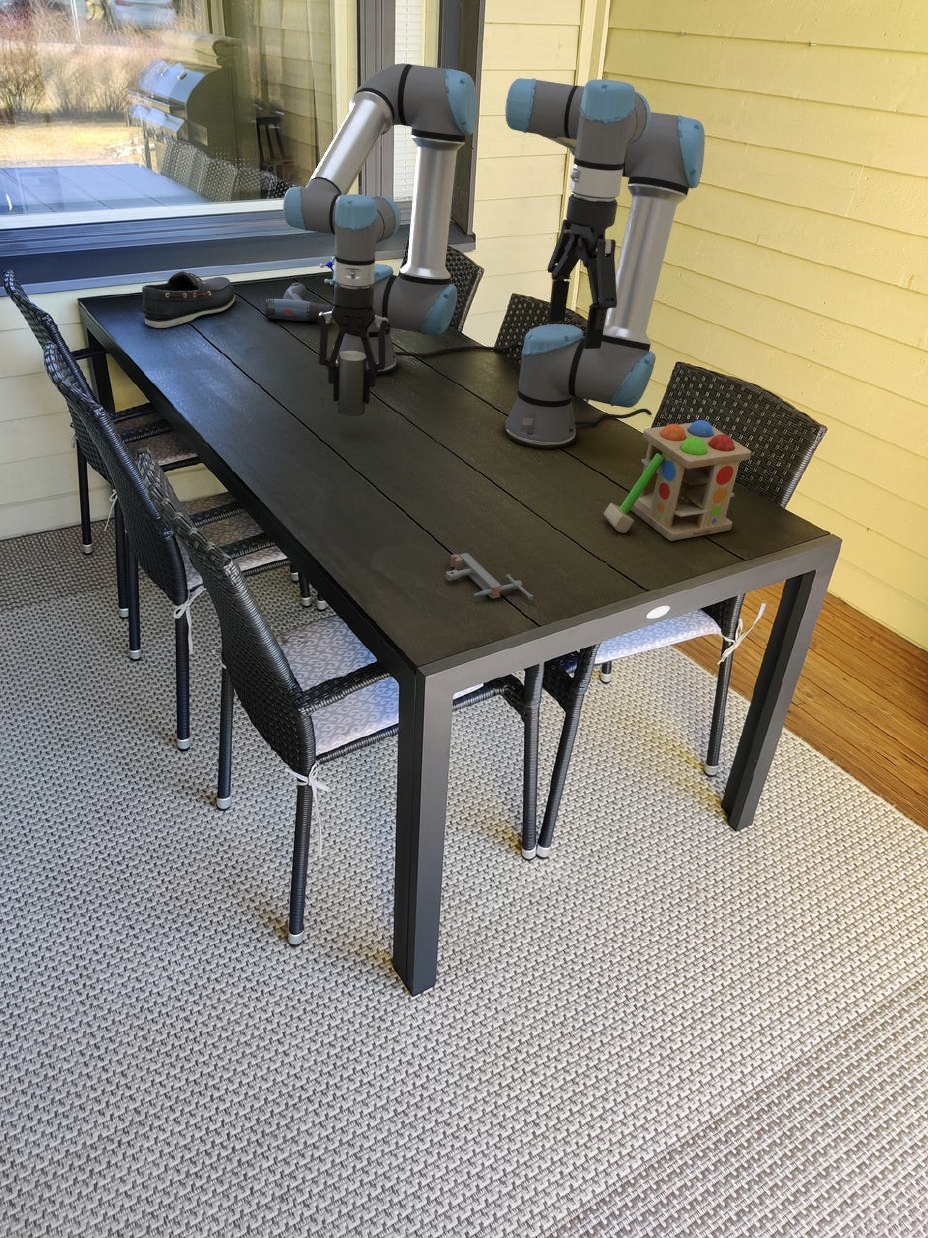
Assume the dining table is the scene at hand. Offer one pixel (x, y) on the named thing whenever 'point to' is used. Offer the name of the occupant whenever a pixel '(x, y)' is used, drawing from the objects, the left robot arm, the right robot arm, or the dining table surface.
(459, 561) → the clamp
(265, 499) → the dining table surface
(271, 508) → the dining table surface
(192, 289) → the boat shoe
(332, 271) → the molecular model
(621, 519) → the pounding bench toy
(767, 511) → the dining table surface
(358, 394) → the tin
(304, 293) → the power drill
